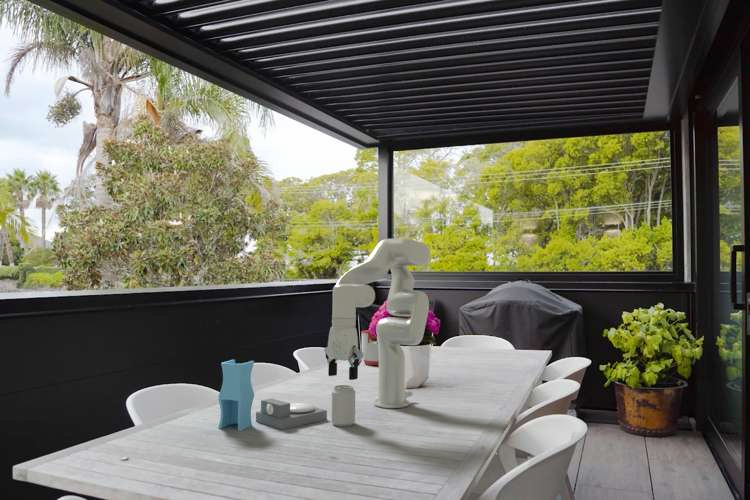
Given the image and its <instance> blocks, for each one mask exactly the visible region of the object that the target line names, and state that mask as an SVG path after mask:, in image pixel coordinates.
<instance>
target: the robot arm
mask: <svg viewBox="0 0 750 500" xmlns="http://www.w3.org/2000/svg"><path fill="white" fill-rule="evenodd" d="M430 258H431V252H430V249H429V246H428V245H427V244H425V242H421V241H418V240H414V239H411V238H406V237H404V238H400V237H397V238H385V239H382V240H380V241H379V242H378V243H377V244H376V246H375V247H374V248H373V250H372V252H371V253H370V254H369V256H368V257H367V258H366V260H365V261H364V262H362V263H359V264H358V265H356V266H355V267H353V268H351V269H349V270H348V271H346V272H345V273H344V274H343V275H341V277H340V279H339V280H338V281H337V282H336V284H335V285H334V286H333V288H332V309H331V310H332V312H331V313H332V315H331V327H330V329H329V332H328V340H327V346H326V347H324V354H325V358H326V360H327V364H328V376H329V377H334V376H338V363H337V360H339V361H347V362H348V363H349V368H348V369H349V370H348V379H349V380H350V381H351V380H352V381H354V380H358V378H359V377H358V376H359V367H360V364H361V363H362V361H363V355H364V354H363V353H362V350H361V349H359V337H358V332H357V331H358V330H357V328H356V325H357V324H356V321H357V314H356V313H357V308H367V307H370V306H371V305H372V304H373V303H374V301H375V300H376V292H375V289H374V288H373V287H372V286H370V285H368V284H370V283H374V282H377V281H380V280H382V279H384V277H386V276H387V274H388V272H389V270H390V272H391V282H390V287H389V292H388V296H387V299H386V311H387V313H388V314H390V315H392V316H394V317H389V316H387V317H384V318H381V319H380V320H379V321H378V322H377V324H376V325H375V326H376V334H377V340H378V347H379V365H378V398H377V399H375V400H374V403H373V404H374V405H375V406H376V407H379V408H383V409H401V408H406V407H408V406H409V404H410V401H409V400H407V398H410V397H413V395H414V393H413V391H412V390H410V391H407V390H406V387H405V382H406V381H405V380H406V379H405V374H406V372H405V369H406V356H405V353H404V350H403V348H402V346H417V345H419V344H420V343H421V342H422V341H423V338H424V335H425V334H424V333H425V329H426V325H427V320H428V315H429V309H430V301H429V298H428V295H427V294H426V293H425V292H424V291H420V290H414V285H415V278H414V276H413V274H412V272H411V271H410V270H409V268H408V267H410V266H411V267H414V266H415V267H423V266H425V265H427V264H428V262H429V261H430ZM395 316H397V317H395ZM406 317H407V318H406ZM408 317H410V318H408ZM401 345H402V346H401Z"/></svg>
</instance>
